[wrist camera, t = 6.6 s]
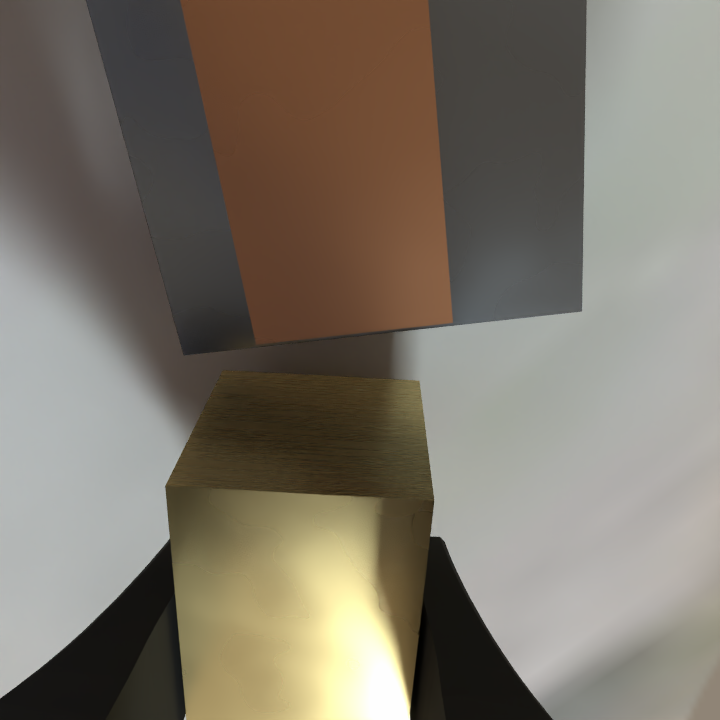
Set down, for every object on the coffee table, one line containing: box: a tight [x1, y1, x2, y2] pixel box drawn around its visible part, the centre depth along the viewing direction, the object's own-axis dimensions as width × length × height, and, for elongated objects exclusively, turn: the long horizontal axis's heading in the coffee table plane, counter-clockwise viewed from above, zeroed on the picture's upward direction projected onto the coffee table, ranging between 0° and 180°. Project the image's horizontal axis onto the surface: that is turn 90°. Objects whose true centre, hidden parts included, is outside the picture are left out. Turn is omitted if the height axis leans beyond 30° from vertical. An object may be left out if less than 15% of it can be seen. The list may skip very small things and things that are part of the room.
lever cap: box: [165, 370, 434, 720], centre depth 13 cm, size 4×6×4 cm, turn 178°
